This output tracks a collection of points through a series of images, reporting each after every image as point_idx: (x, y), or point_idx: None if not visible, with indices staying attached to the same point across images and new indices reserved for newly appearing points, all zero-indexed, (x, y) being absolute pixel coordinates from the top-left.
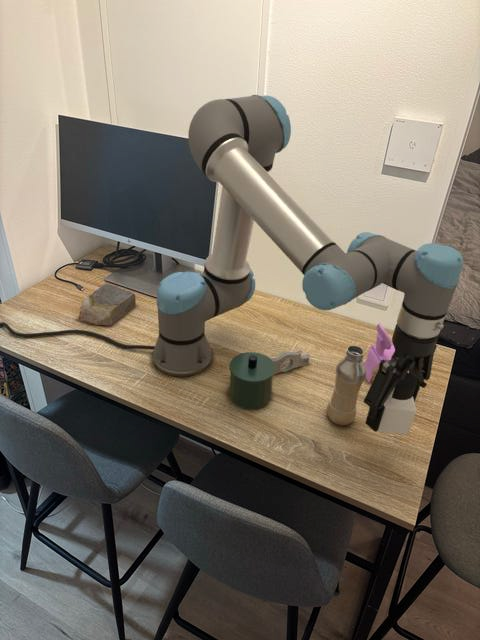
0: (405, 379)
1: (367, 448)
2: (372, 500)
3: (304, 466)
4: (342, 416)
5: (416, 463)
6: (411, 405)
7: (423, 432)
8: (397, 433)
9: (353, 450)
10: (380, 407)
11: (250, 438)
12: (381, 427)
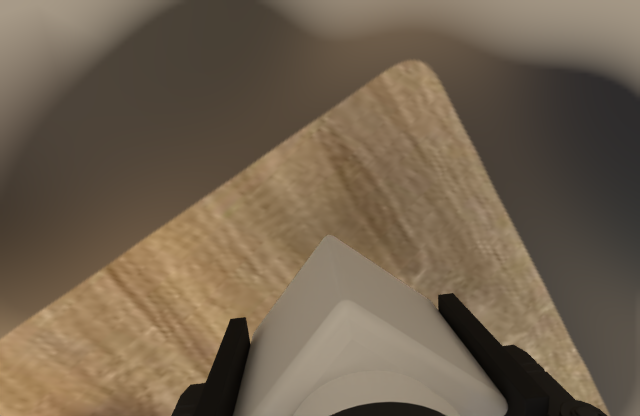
0: None
1: None
2: (456, 143)
3: (520, 292)
4: None
5: (265, 177)
6: (352, 346)
7: (163, 248)
8: (361, 255)
9: None
10: (591, 410)
11: None
12: (421, 300)
